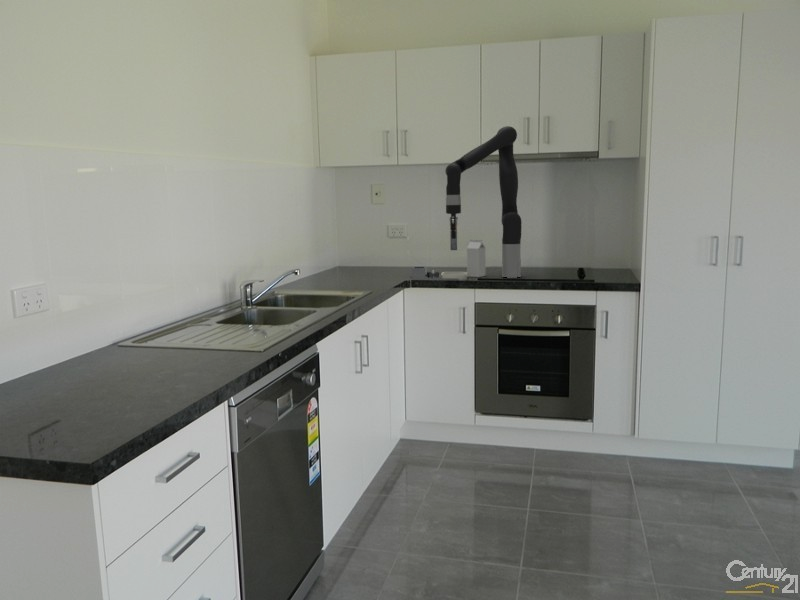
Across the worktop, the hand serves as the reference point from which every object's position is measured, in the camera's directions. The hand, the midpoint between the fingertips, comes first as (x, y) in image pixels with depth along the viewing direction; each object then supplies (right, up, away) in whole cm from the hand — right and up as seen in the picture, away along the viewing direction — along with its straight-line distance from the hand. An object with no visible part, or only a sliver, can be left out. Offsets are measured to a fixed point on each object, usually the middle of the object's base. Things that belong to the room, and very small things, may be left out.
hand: (453, 238), depth 340 cm
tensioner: (-14, -21, +6) cm, 25 cm away
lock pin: (0, -6, +1) cm, 6 cm away
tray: (0, -21, +3) cm, 21 cm away
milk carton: (+13, -19, +12) cm, 26 cm away
